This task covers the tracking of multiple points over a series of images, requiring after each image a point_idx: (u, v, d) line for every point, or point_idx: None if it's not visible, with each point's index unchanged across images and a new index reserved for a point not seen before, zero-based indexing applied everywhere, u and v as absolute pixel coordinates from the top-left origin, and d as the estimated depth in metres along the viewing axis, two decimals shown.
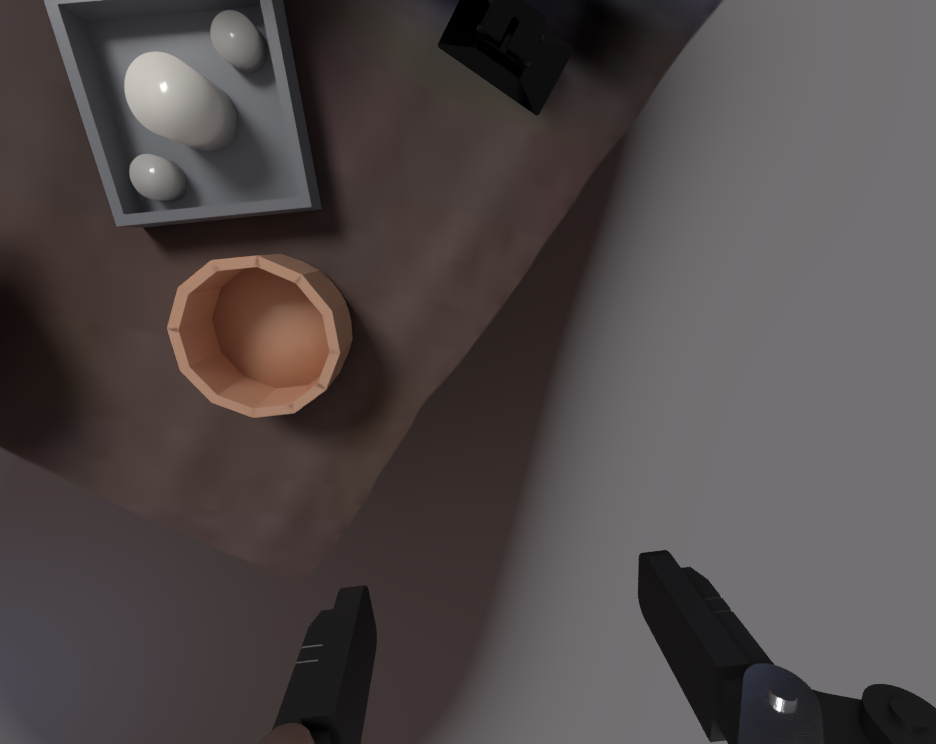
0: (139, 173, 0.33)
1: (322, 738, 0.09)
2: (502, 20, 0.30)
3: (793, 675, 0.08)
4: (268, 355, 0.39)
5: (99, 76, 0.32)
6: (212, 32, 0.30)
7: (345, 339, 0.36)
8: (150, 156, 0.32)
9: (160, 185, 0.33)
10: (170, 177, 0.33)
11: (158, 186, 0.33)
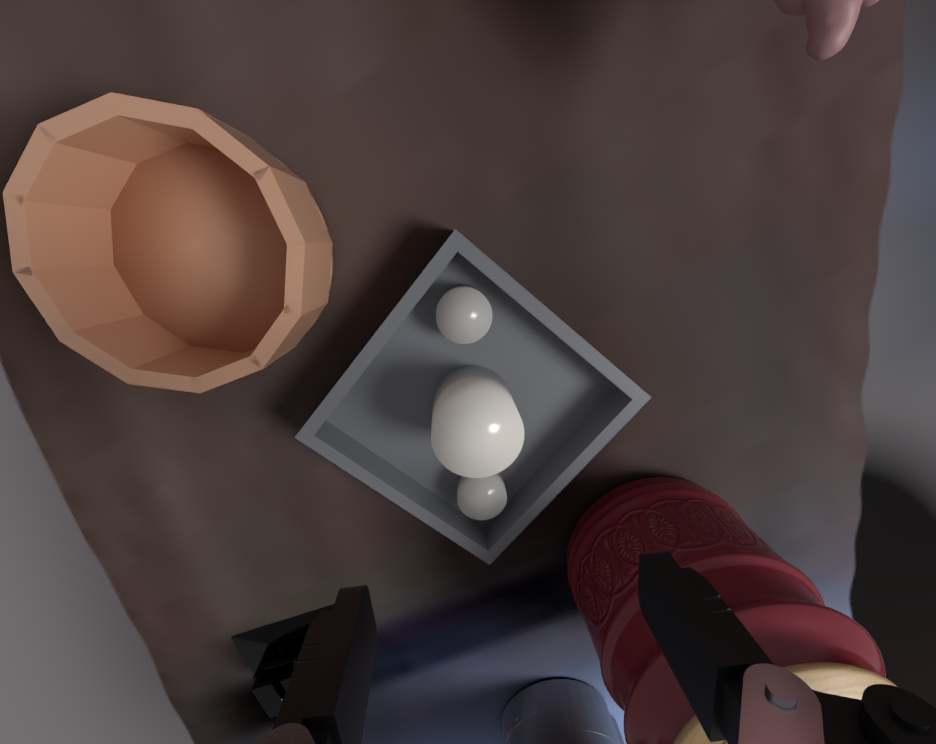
0: (478, 308, 0.24)
1: (322, 738, 0.09)
2: None
3: (793, 675, 0.08)
4: (192, 206, 0.23)
5: (579, 354, 0.27)
6: (500, 487, 0.27)
7: None
8: (478, 336, 0.25)
9: (450, 315, 0.24)
10: (446, 333, 0.24)
11: (451, 312, 0.24)
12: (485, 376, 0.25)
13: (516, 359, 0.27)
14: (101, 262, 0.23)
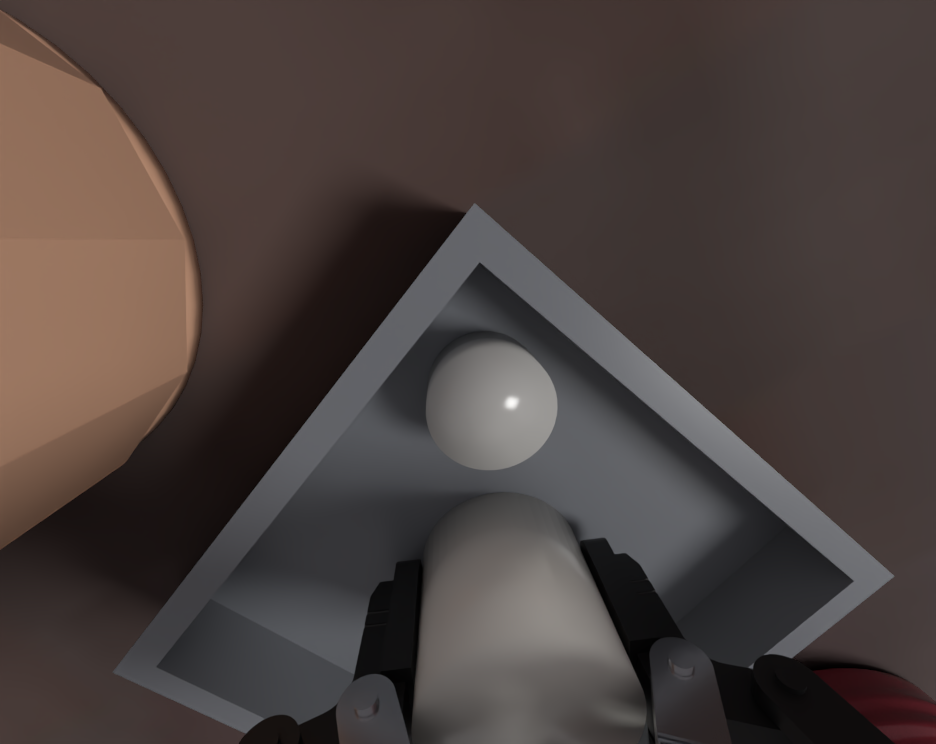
0: (526, 396, 0.10)
1: (400, 689, 0.09)
2: None
3: (687, 642, 0.09)
4: None
5: (723, 470, 0.13)
6: None
7: None
8: (521, 456, 0.11)
9: (460, 408, 0.10)
10: (448, 445, 0.11)
11: (462, 402, 0.10)
12: (537, 537, 0.11)
13: (592, 479, 0.13)
14: None
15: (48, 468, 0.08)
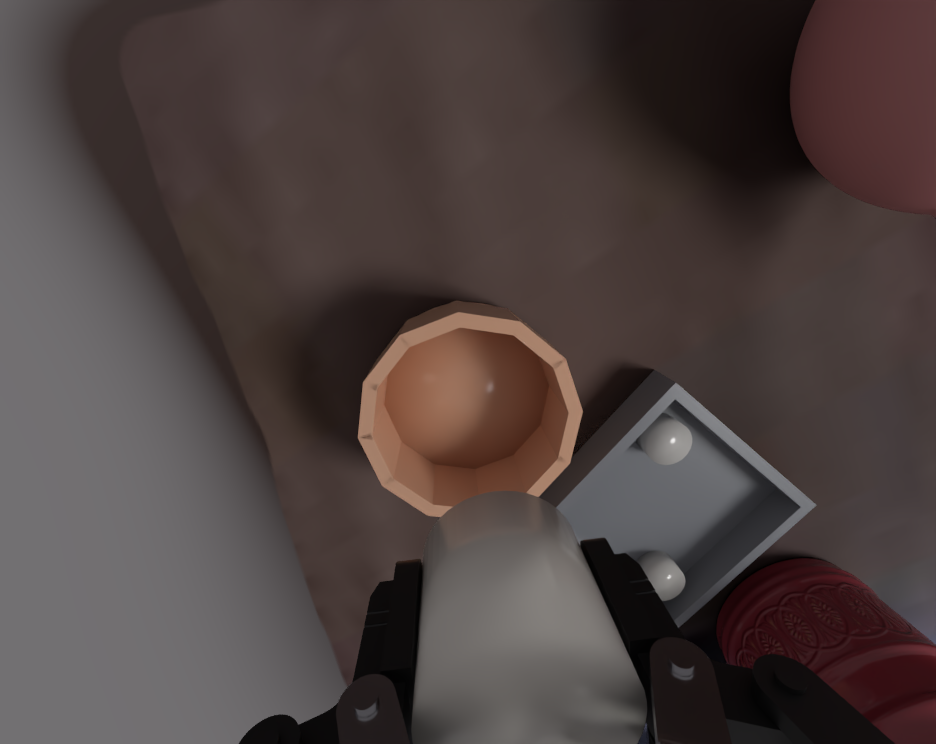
0: (682, 439, 0.30)
1: (400, 689, 0.09)
2: None
3: (687, 642, 0.09)
4: (453, 359, 0.29)
5: (749, 465, 0.32)
6: (682, 576, 0.33)
7: None
8: (676, 460, 0.30)
9: (658, 442, 0.29)
10: (652, 454, 0.30)
11: (660, 439, 0.29)
12: (537, 536, 0.11)
13: (696, 469, 0.32)
14: (382, 407, 0.29)
15: None
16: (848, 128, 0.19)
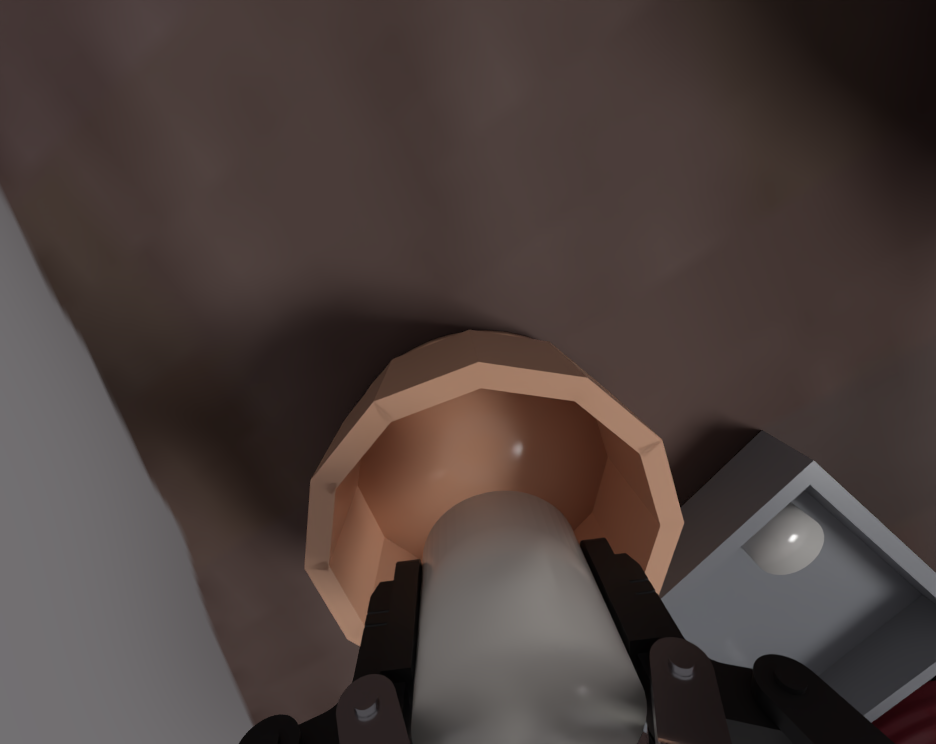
0: (808, 540, 0.20)
1: (400, 689, 0.09)
2: None
3: (687, 642, 0.09)
4: (464, 419, 0.19)
5: (891, 565, 0.22)
6: None
7: None
8: (795, 569, 0.20)
9: (774, 543, 0.19)
10: (761, 560, 0.20)
11: (776, 540, 0.19)
12: (537, 536, 0.11)
13: (812, 569, 0.22)
14: (354, 492, 0.18)
15: None
16: None
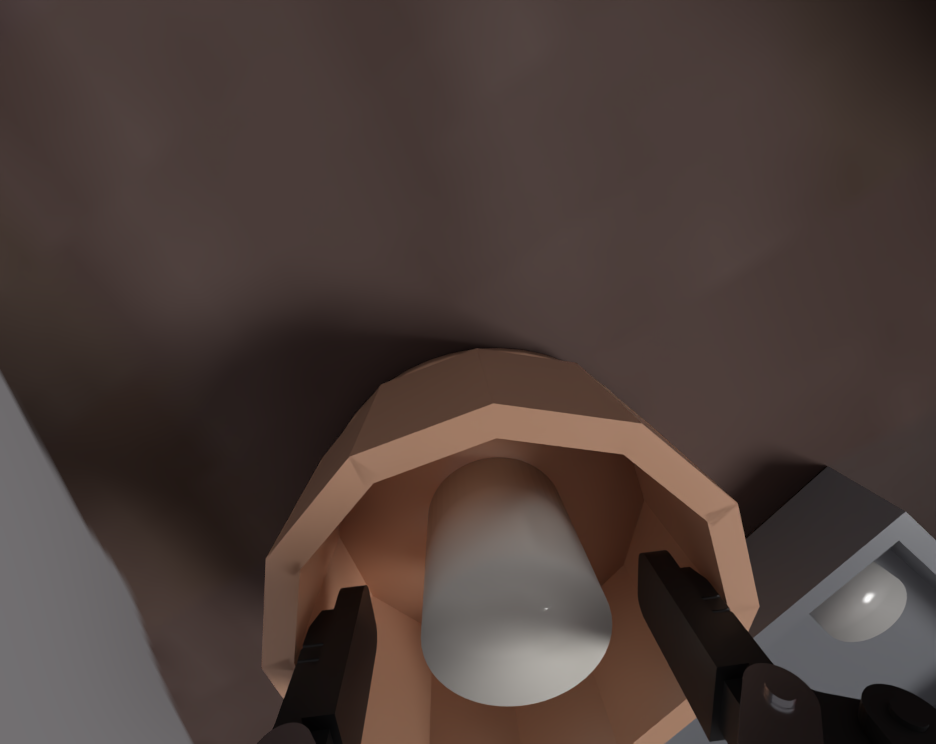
0: (888, 602, 0.16)
1: (323, 738, 0.09)
2: None
3: (792, 675, 0.08)
4: (469, 457, 0.15)
5: None
6: None
7: None
8: (869, 636, 0.16)
9: (847, 604, 0.16)
10: (829, 624, 0.16)
11: (849, 601, 0.16)
12: (525, 491, 0.13)
13: None
14: (333, 548, 0.15)
15: None
16: None
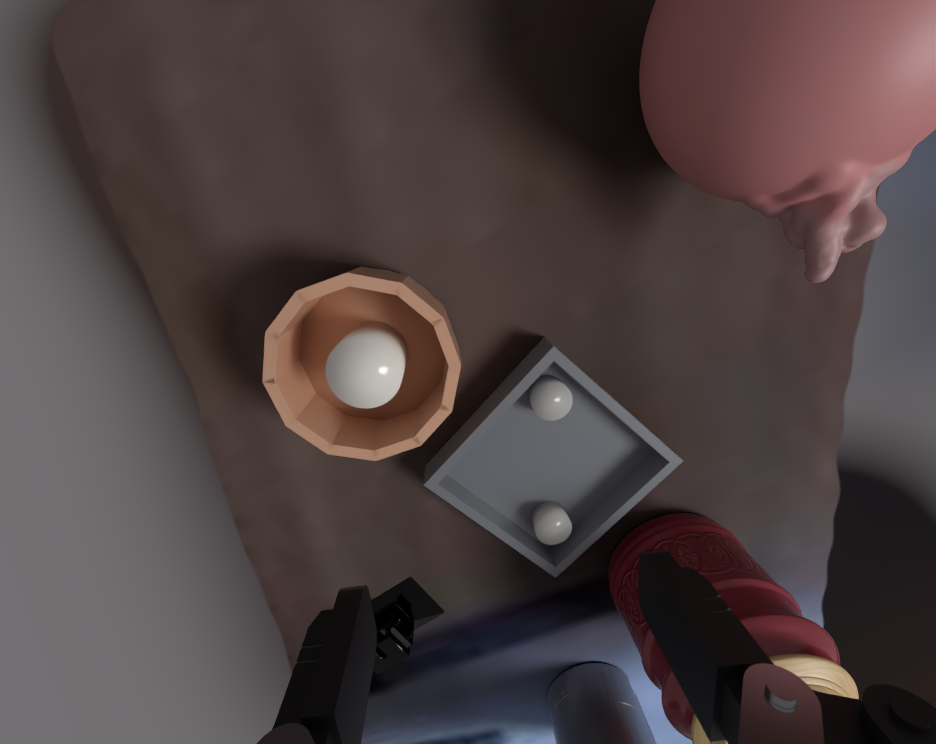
0: (563, 399, 0.33)
1: (322, 738, 0.09)
2: (387, 650, 0.38)
3: (793, 675, 0.08)
4: (360, 320, 0.32)
5: None
6: (569, 524, 0.37)
7: None
8: (557, 418, 0.34)
9: (543, 398, 0.33)
10: (536, 409, 0.34)
11: (544, 397, 0.33)
12: (379, 328, 0.30)
13: (583, 428, 0.36)
14: (295, 360, 0.32)
15: None
16: (665, 123, 0.23)
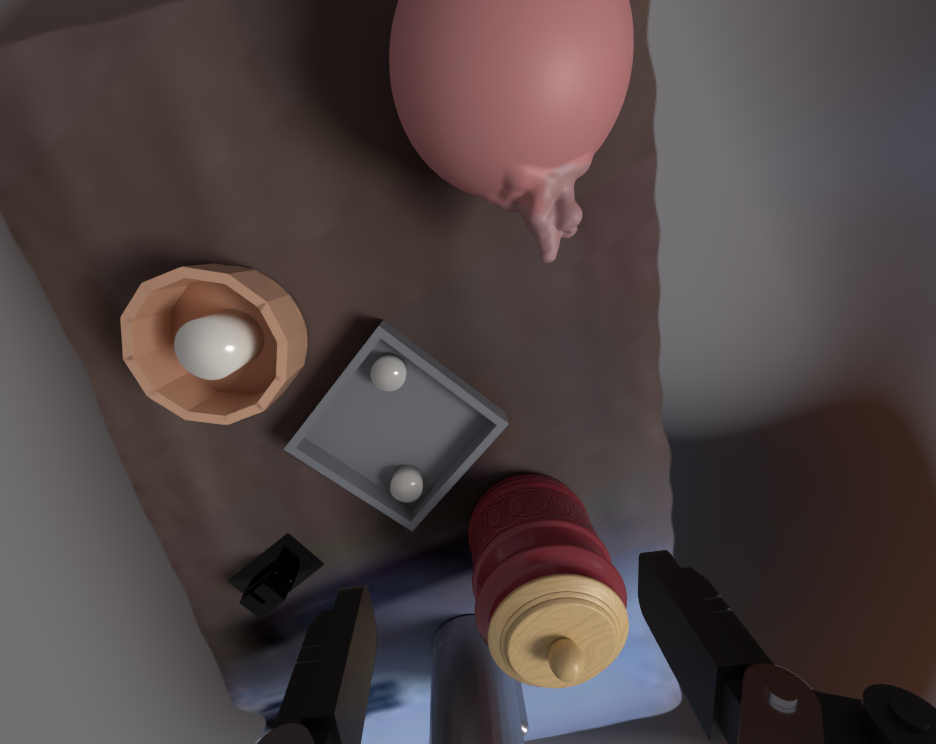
0: (397, 373, 0.39)
1: (322, 738, 0.09)
2: (264, 595, 0.44)
3: (793, 675, 0.08)
4: (220, 309, 0.38)
5: None
6: (419, 484, 0.43)
7: None
8: (393, 389, 0.40)
9: (380, 372, 0.39)
10: (374, 381, 0.39)
11: (380, 370, 0.39)
12: (228, 313, 0.36)
13: (426, 398, 0.42)
14: (165, 343, 0.38)
15: (284, 384, 0.37)
16: (410, 140, 0.29)
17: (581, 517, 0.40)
